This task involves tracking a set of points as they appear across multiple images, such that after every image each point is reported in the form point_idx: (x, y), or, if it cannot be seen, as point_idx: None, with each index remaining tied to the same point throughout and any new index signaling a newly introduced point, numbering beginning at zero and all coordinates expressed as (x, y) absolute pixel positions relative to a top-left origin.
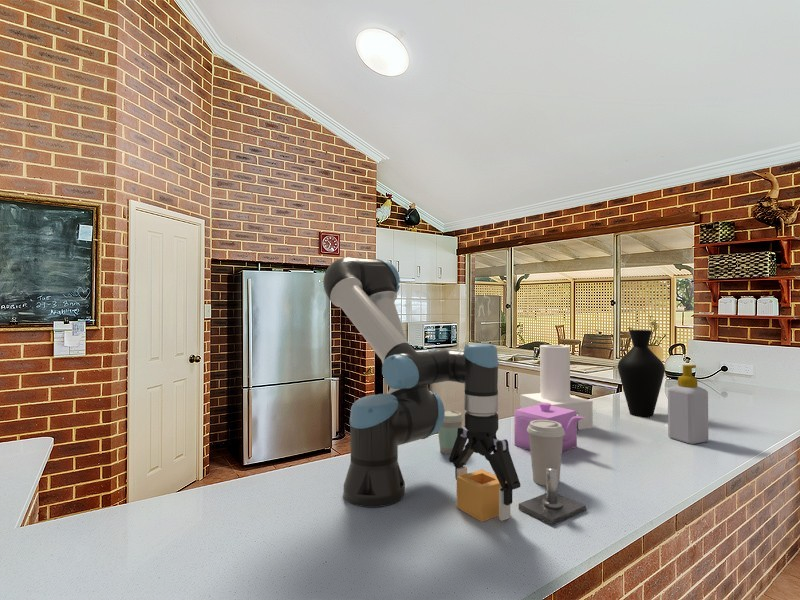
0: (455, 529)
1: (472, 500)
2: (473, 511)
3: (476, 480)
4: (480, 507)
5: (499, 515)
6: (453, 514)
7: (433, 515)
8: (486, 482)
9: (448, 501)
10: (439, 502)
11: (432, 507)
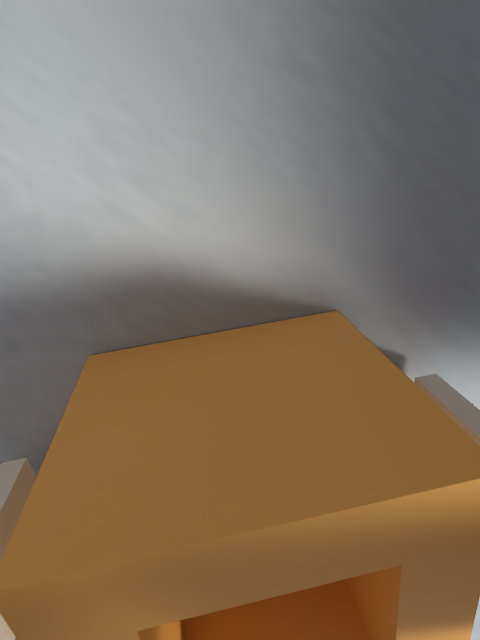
0: (43, 107)
1: (180, 405)
2: (171, 359)
3: (364, 586)
4: (79, 411)
5: (13, 479)
6: (267, 233)
7: (334, 65)
8: (305, 625)
9: (433, 300)
10: (462, 236)
11: (440, 141)
